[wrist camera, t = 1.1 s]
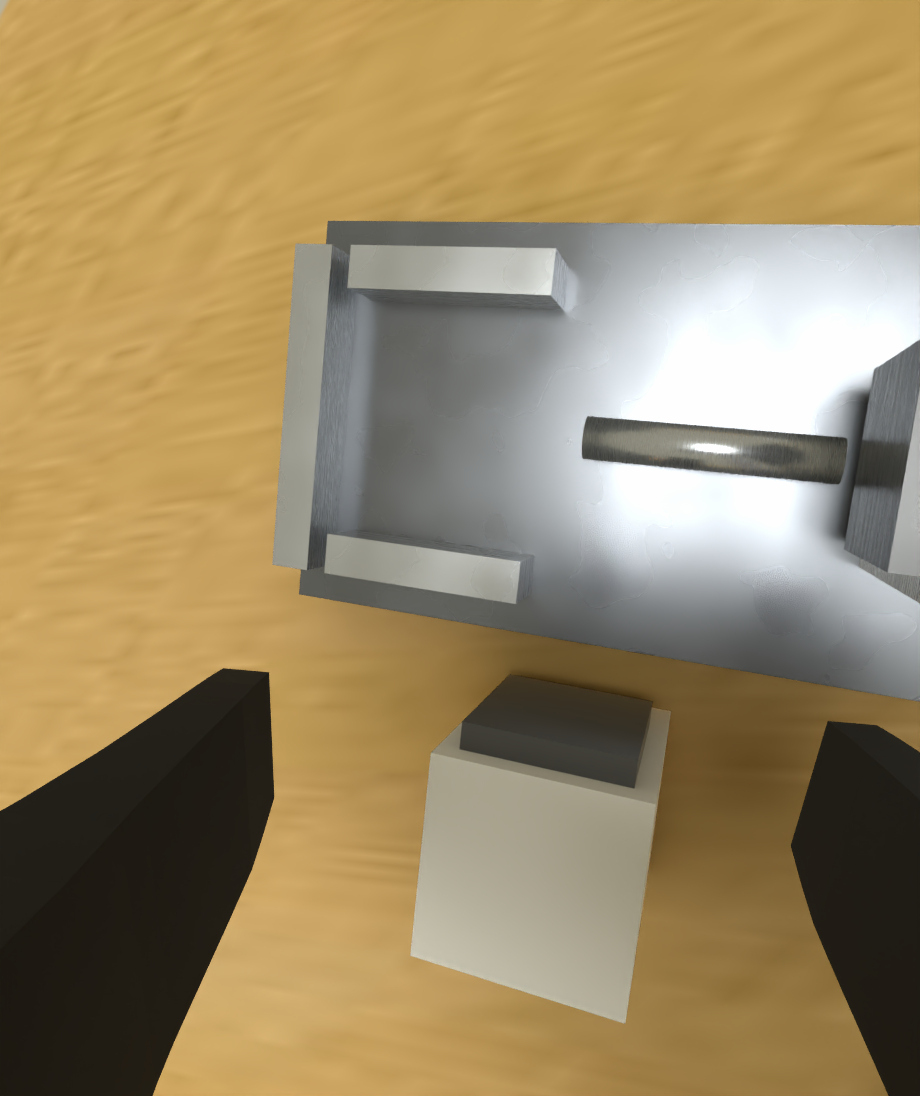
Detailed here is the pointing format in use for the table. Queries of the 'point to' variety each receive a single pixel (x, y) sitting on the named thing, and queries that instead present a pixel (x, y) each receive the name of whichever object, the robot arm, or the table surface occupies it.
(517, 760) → the white cube grey lid
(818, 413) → the grey metal base
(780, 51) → the table surface
